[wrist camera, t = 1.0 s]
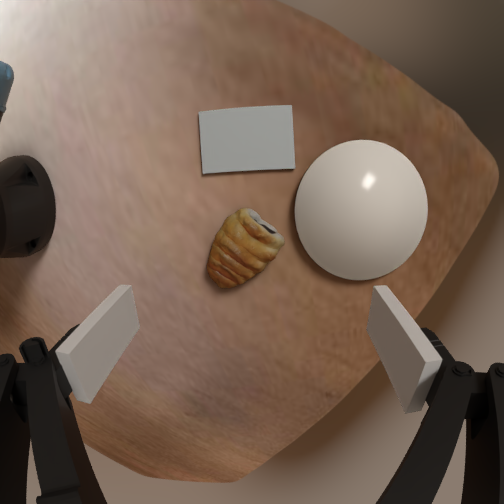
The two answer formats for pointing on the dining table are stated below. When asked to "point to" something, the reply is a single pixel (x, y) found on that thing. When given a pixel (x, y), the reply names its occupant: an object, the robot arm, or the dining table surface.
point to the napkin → (247, 139)
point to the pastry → (242, 248)
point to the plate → (361, 210)
